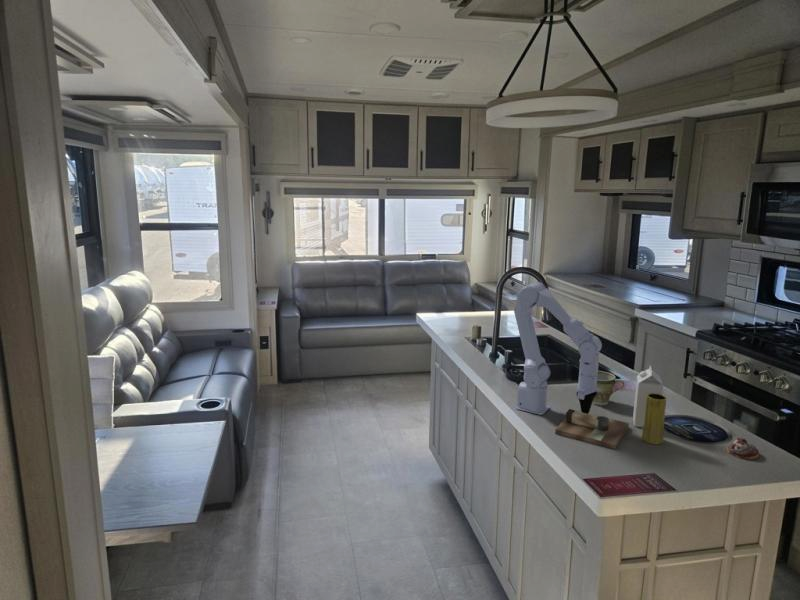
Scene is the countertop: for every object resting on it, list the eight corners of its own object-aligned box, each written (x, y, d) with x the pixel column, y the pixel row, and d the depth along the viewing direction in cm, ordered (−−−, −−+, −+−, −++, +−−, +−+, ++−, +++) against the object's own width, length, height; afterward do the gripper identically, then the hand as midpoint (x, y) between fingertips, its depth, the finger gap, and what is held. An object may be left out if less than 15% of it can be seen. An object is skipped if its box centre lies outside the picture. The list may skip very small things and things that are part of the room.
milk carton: (656, 420, 180) (662, 366, 176) (658, 430, 174) (664, 373, 170) (632, 417, 183) (638, 363, 179) (634, 426, 176) (639, 370, 172)
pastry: (723, 453, 159) (725, 437, 158) (731, 445, 164) (733, 429, 163) (754, 463, 154) (757, 447, 153) (762, 454, 159) (764, 438, 158)
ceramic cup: (581, 404, 194) (583, 377, 192) (586, 394, 202) (588, 369, 200) (620, 411, 188) (623, 383, 186) (623, 401, 197) (626, 374, 194)
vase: (665, 445, 164) (670, 401, 161) (643, 443, 165) (648, 399, 162) (660, 436, 170) (665, 393, 166) (639, 434, 171) (643, 391, 168)
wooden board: (555, 433, 171) (555, 428, 171) (572, 414, 186) (572, 409, 185) (614, 449, 162) (615, 444, 161) (628, 427, 176) (628, 422, 175)
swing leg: (609, 427, 172) (610, 418, 171) (606, 431, 169) (607, 422, 168) (568, 417, 179) (569, 408, 178) (565, 421, 176) (566, 412, 175)
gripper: (594, 383, 169) (591, 423, 172) (606, 369, 180) (603, 408, 183) (572, 378, 173) (569, 418, 176) (585, 365, 184) (582, 403, 187)
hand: (585, 412), depth 180 cm, fingers closed
